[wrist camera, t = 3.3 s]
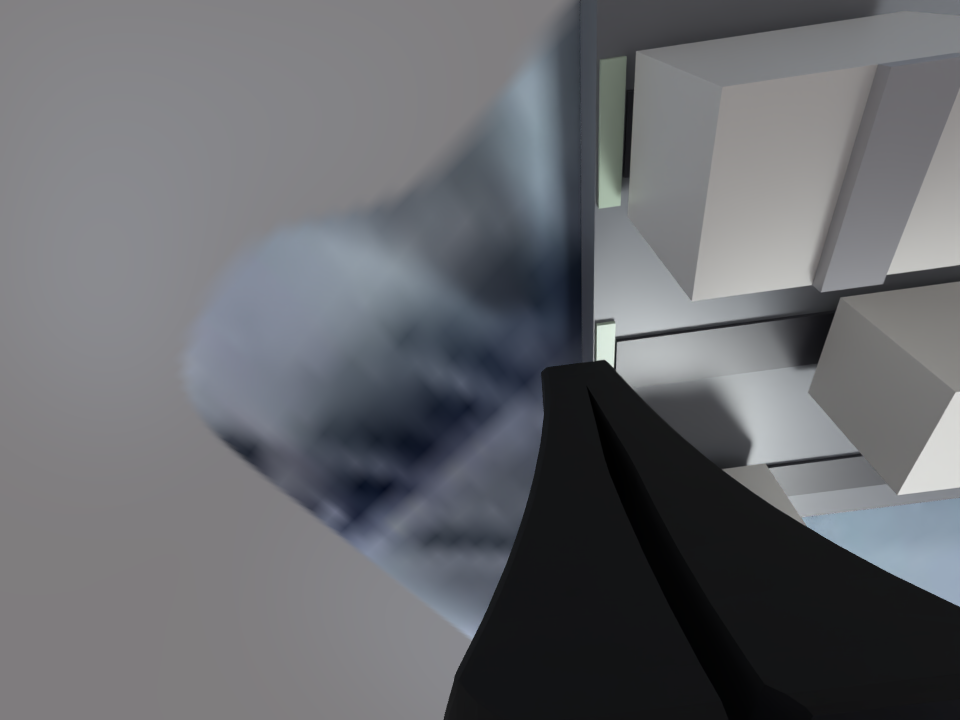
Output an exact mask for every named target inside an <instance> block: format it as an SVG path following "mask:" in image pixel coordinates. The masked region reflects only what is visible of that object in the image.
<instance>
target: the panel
mask: <svg viewBox="0 0 960 720" xmlns="http://www.w3.org/2000/svg"><path fill="white" fill-rule="evenodd" d="M902 11H912V12H924V13H935V14H947V15H958V16H960V0H580V95H581V279H582V363H583V362H591V361H598V360H606V361H607V362H608V363H609V364H610V365H611V366H612V367H613V368H614V369H615V370H616V371H617V373H618V374H619V375H620V376H621V377H622V378H623V379H624V380H625V381H626V382H627V383H628V384H629V386H630V387H631V388H632V389H633V390H634V391H635V392H636V393H637V394H638V395H639V396H640V397H641V398H642V399H643V400H644V401H645V402H646V403H647V404H648V405H649V406H650V407H651V408H652V409H653V410H654V411H655V412H656V413H657V414H658V415H659V416H660V417H661V418H663V419H664V420H665V421H666V422H667V423H668V424H669V425H670V426H671V427H672V428H673V429H674V430H675V431H677V432H678V433H679V434H680V435H681V436H682V437H683V438H684V439H686V440H687V441H688V442H689V443H690V444H691V445H693V446H694V447H695V448H696V449H697V450H699V451H700V452H701V453H702V454H703V455H704V456H706V457H707V458H708V459H709V460H711V461H712V462H713V463H714V464H716V465H717V466H718V467H719V468H721V469H726V468H734V467H742V466H750V465H758V464H766V465H767V467H768V468H769V470H770V471H771V473H772V474H773V476H774V477H775V479H776V480H777V482H778V483H779V485H780V486H781V488H782V489H783V491H784V493H785V494H786V496H787V497H788V499H789V500H790V502H791V503H792V505H793V506H794V508H795V509H796V511H797V512H798V514H799V515H800V517H809V516H817V515H825V514H833V513H841V512H849V511H857V510H865V509H873V508H881V507H889V506H897V505H905V504H913V503H922V502H930V501H938V500H946V499H954V498H960V487H959V488H951V489H943V490H935V491H927V492H919V493H911V494H903V495H896V493H895V492H894V491H893V490H892V489H891V488H890V487H889V485H888V484H887V483H886V482H885V481H884V480H883V478H882V477H881V476H880V475H879V474H878V473H877V472H876V470H875V469H874V468H873V467H872V466H871V465H870V463H869V462H868V461H867V460H866V459H865V458H864V457H863V455H862V454H861V453H860V452H859V451H858V450H857V448H856V447H855V446H854V445H853V444H852V443H851V442H850V440H849V439H848V438H847V437H846V436H845V435H844V434H843V432H842V431H841V430H840V429H839V428H838V427H837V425H836V424H835V423H834V422H833V421H832V420H831V419H830V417H829V416H828V415H827V414H826V413H825V412H824V410H823V409H822V408H821V407H820V406H819V405H818V404H817V402H816V401H815V400H814V399H813V398H812V397H811V396H810V394H809V393H808V391H809V388H810V385H811V382H812V379H813V376H814V373H815V371H816V368H817V365H818V362H819V359H820V356H821V353H822V350H823V347H824V344H825V341H826V338H827V335H828V333H829V330H830V327H831V324H832V321H833V318H834V315H835V312H836V309H837V306H838V303H839V300H840V297H848V296H855V295H863V294H870V293H877V292H885V291H892V290H900V289H907V288H914V287H922V286H929V285H937V284H944V283H951V282H959V281H960V265H956V266H948V267H941V268H934V269H926V270H919V271H912V272H904V273H897V274H890V275H886V277H885V280H884V283H883V284H880V285H872V286H865V287H857V288H850V289H843V290H835V291H828V292H820V291H818V290H817V289H816V288H815V287H814V286H813V285H809V286H801V287H794V288H787V289H779V290H772V291H765V292H757V293H750V294H742V295H735V296H728V297H720V298H713V299H706V300H698V301H691V300H690V298H689V297H688V296H687V294H686V293H685V292H684V290H683V289H682V288H681V287H680V285H679V284H678V283H677V281H676V280H675V279H674V277H673V276H672V275H671V273H670V272H669V271H668V269H667V268H666V267H665V265H664V264H663V263H662V261H661V260H660V259H659V257H658V256H657V255H656V253H655V252H654V251H653V249H652V248H651V247H650V246H649V244H648V243H647V242H646V240H645V239H644V238H643V236H642V235H641V234H640V232H639V231H638V230H637V228H636V227H635V226H634V224H633V223H632V222H631V220H630V219H629V218H628V201H629V181H630V162H631V142H632V122H633V103H634V83H635V63H636V51H641V50H647V49H654V48H661V47H667V46H674V45H681V44H688V43H694V42H701V41H708V40H714V39H721V38H728V37H735V36H741V35H748V34H755V33H761V32H768V31H775V30H781V29H788V28H795V27H802V26H808V25H815V24H822V23H828V22H835V21H842V20H849V19H855V18H862V17H869V16H875V15H882V14H889V13H895V12H902Z"/></svg>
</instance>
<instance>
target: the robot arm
mask: <svg viewBox="0 0 960 720" xmlns="http://www.w3.org/2000/svg"><path fill="white" fill-rule="evenodd" d="M541 377H542V392H543V406H544V420H543V428H542V437H541V444H540V449H539V454H538V459H537V464H536V469H535V474H534V478H533V482H532V486H531V490H530V494H529V498H528V501H527V505H526V508H525V512H524V515H523V518H522V521H521V524H520V527H519V530H518V533H517V536H516V539H515V542H514V545H513V548H512V551H511V553H510V556H509V559H508V561H507V564H506V566H505V569H504V571H503V574H502V576H501V578H500V581H499V583H498V585H497V588H496V590H495V592H494V595H493V597H492V599H491V602H490V604H489V607H488V609H487V611H486V613H485V615H484V618H483V620H482V622H481V624H480V626H479V628H478V630H477V632H476V634H475V636H474V638H473V640H472V642H471V644H470V646H469V648H468V650H467V652H466V654H465V656H464V658H463V660H462V662H461V664H460V666H459V668H458V670H457V672H456V674H455V678H454V683H453V686H452V690H451V693H450V697H449V701H448V704H447V708H446V712H445V716H444V720H960V607H959V606H957V605H955V604H952V603H950V602H948V601H946V600H944V599H942V598H940V597H938V596H936V595H934V594H932V593H930V592H928V591H925V590H923V589H921V588H919V587H917V586H915V585H913V584H911V583H909V582H907V581H905V580H903V579H900V578H898V577H896V576H894V575H892V574H890V573H888V572H887V571H885V570H883V569H881V568H879V567H877V566H875V565H873V564H872V563H870V562H868V561H866V560H864V559H862V558H860V557H859V556H857V555H855V554H853V553H851V552H849V551H848V550H846V549H844V548H842V547H840V546H838V545H837V544H835V543H833V542H831V541H830V540H828V539H826V538H825V537H823V536H821V535H820V534H818V533H816V532H815V531H813V530H811V529H810V528H808V527H807V526H805V525H803V524H802V523H800V522H798V521H797V520H795V519H793V518H792V517H790V516H789V515H787V514H785V513H784V512H782V511H780V510H779V509H777V508H776V507H774V506H773V505H771V504H770V503H768V502H767V501H765V500H764V499H762V498H761V497H759V496H758V495H756V494H755V493H753V492H752V491H751V490H749V489H748V488H746V487H745V486H744V485H742V484H741V483H740V482H738V481H737V480H735V479H734V478H733V477H731V476H730V475H729V474H727V473H726V472H725V471H723V470H722V469H721V468H719V467H718V466H717V465H716V464H714V463H713V462H712V461H711V460H709V459H708V458H707V457H706V456H704V455H703V454H702V453H701V452H700V451H699V450H697V449H696V448H695V447H694V446H693V445H691V444H690V443H689V442H688V441H687V440H686V439H684V438H683V437H682V436H681V435H680V434H679V433H678V432H677V431H675V430H674V429H673V428H672V427H671V426H670V425H669V424H668V423H667V422H666V421H665V420H664V419H663V418H661V417H660V416H659V415H658V414H657V413H656V412H655V411H654V410H653V409H652V408H651V407H650V406H649V405H648V404H647V403H646V402H645V401H644V400H643V399H642V398H641V397H640V396H639V395H638V394H637V393H636V392H635V391H634V390H633V389H632V388H631V387H630V386H629V384H628V383H627V382H626V381H625V380H624V379H623V378H622V377H621V376H620V375H619V374H618V373H617V371H616V370H615V369H614V368H613V367H612V366H611V365H610V364H609V363H608V362H607V361H606V360H598V361H591V362H583V363H576V364H568V365H561V366H553V367H546V368H545V369H544V370H543V371H542V372H541Z"/></svg>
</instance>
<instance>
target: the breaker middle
mask: <svg viewBox="0 0 960 720" xmlns="http://www.w3.org/2000/svg"><path fill="white" fill-rule="evenodd" d="M808 393H809V394H810V396H811V397H812V398H813V399H814V400H815V401H816V402H817V404H818V405H819V406H820V407H821V408H822V409H823V410H824V412H825V413H826V414H827V415H828V416H829V417H830V419H831V420H832V421H833V422H834V423H835V424H836V425H837V427H838V428H839V429H840V430H841V431H842V432H843V434H844V435H845V436H846V437H847V438H848V439H849V440H850V442H851V443H852V444H853V445H854V446H855V447H856V448H857V450H858V451H859V452H860V453H861V454H862V455H863V457H864V458H865V459H866V460H867V461H868V462H869V463H870V465H871V466H872V467H873V468H874V469H875V470H876V472H877V473H878V474H879V475H880V476H881V477H882V478H883V480H884V481H885V482H886V483H887V484H888V485H889V487H890V488H891V489H892V490H893V491H894V492H895V493H896V495H903V494H911V493H919V492H927V491H935V490H943V489H951V488H959V487H960V281H959V282H951V283H944V284H937V285H929V286H922V287H914V288H907V289H900V290H892V291H885V292H877V293H870V294H863V295H855V296H848V297H840V300H839V303H838V306H837V309H836V312H835V315H834V318H833V321H832V324H831V327H830V330H829V333H828V335H827V338H826V341H825V344H824V347H823V350H822V353H821V356H820V359H819V362H818V365H817V368H816V371H815V373H814V376H813V379H812V382H811V385H810V388H809V391H808Z"/></svg>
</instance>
